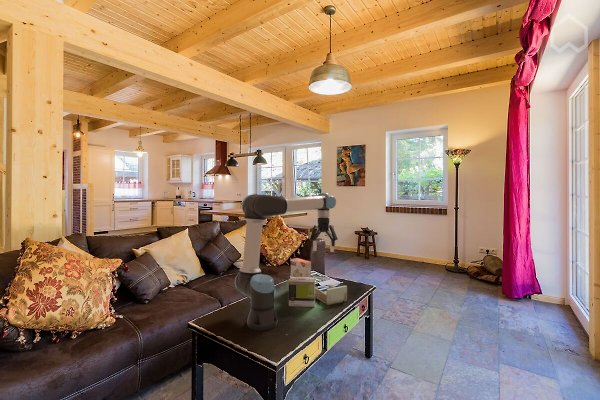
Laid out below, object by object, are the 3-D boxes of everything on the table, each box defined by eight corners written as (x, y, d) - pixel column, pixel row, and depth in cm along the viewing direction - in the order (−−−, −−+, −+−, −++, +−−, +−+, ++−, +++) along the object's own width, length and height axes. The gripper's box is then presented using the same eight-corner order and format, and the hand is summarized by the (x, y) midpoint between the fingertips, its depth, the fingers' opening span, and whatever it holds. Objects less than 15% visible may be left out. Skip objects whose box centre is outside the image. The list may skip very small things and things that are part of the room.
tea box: (315, 301, 178) (315, 276, 177) (314, 307, 168) (314, 282, 167) (290, 299, 179) (290, 275, 178) (288, 306, 169) (288, 281, 168)
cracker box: (290, 289, 197) (290, 258, 196) (296, 287, 201) (297, 257, 200) (304, 295, 186) (304, 262, 185) (311, 293, 190) (311, 261, 189)
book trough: (327, 305, 171) (327, 289, 171) (312, 295, 186) (312, 281, 186) (346, 300, 178) (347, 286, 178) (330, 292, 193) (330, 278, 193)
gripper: (343, 217, 182) (343, 252, 179) (312, 218, 199) (311, 250, 196) (336, 216, 176) (336, 252, 174) (304, 217, 193) (304, 250, 190)
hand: (323, 251), depth 185 cm, fingers open, 13 cm apart
